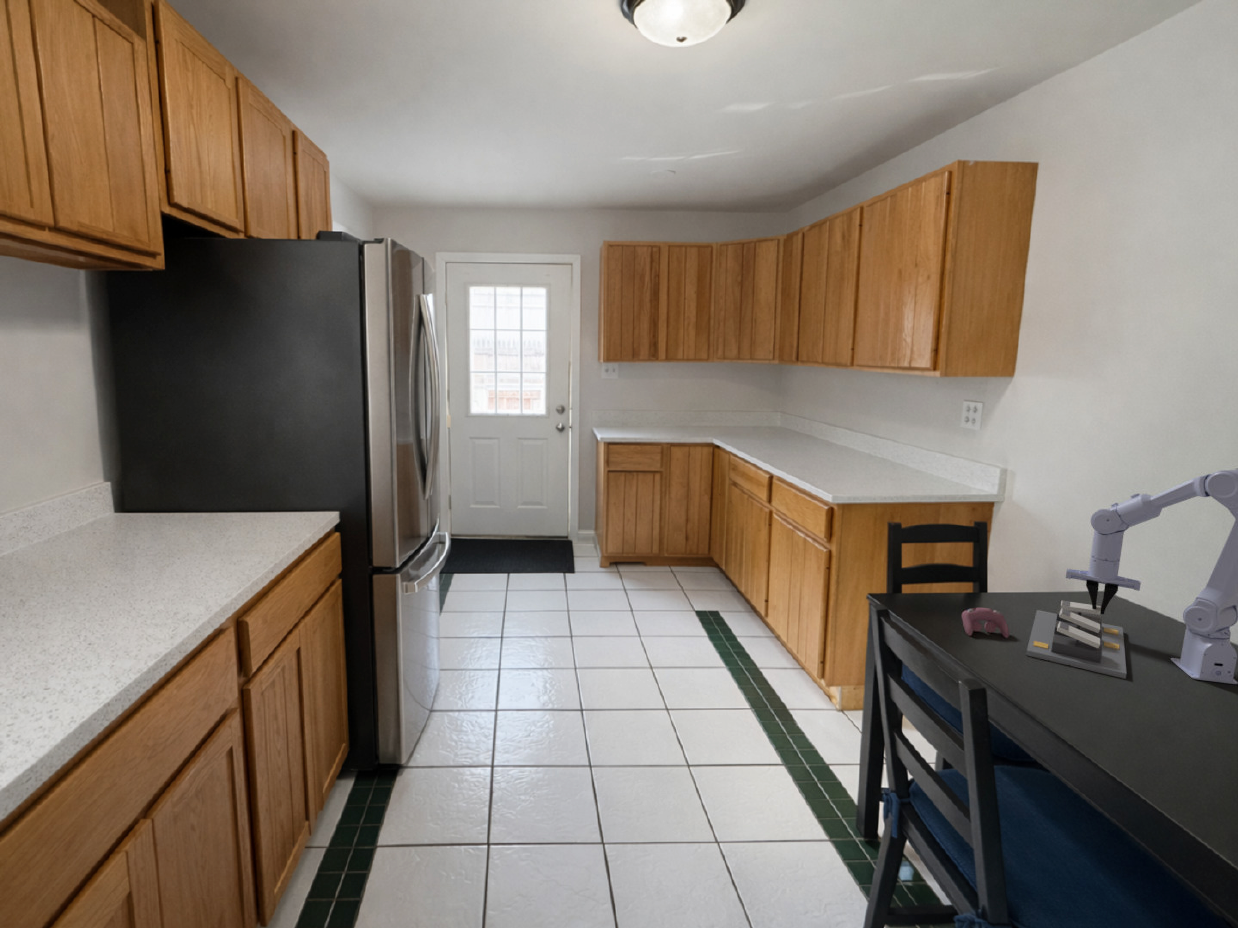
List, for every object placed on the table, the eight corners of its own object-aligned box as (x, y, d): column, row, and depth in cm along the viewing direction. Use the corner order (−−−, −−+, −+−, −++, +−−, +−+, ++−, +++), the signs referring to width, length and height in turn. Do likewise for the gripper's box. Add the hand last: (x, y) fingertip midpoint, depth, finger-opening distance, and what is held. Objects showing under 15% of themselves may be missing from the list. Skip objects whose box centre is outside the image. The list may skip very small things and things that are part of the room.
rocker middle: (1098, 627, 159) (1100, 623, 158) (1098, 633, 155) (1100, 629, 155) (1059, 611, 163) (1061, 607, 162) (1059, 617, 159) (1061, 612, 159)
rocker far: (1100, 610, 166) (1100, 605, 166) (1100, 615, 163) (1100, 610, 163) (1061, 604, 171) (1061, 600, 171) (1060, 609, 168) (1060, 604, 168)
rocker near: (1098, 642, 151) (1100, 637, 150) (1098, 648, 147) (1100, 644, 147) (1057, 625, 155) (1059, 620, 154) (1056, 630, 151) (1059, 626, 151)
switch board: (1121, 632, 167) (1124, 613, 166) (1125, 678, 143) (1129, 657, 142) (1036, 614, 177) (1038, 597, 176) (1026, 655, 153) (1028, 635, 152)
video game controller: (1002, 639, 165) (1000, 609, 167) (1011, 638, 161) (1008, 607, 163) (960, 636, 166) (958, 607, 168) (968, 635, 162) (965, 605, 164)
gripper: (1142, 559, 162) (1134, 614, 164) (1069, 548, 170) (1062, 600, 172) (1144, 567, 156) (1135, 623, 159) (1068, 555, 164) (1061, 609, 167)
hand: (1097, 612), depth 165 cm, fingers closed, pressing on rocker far
